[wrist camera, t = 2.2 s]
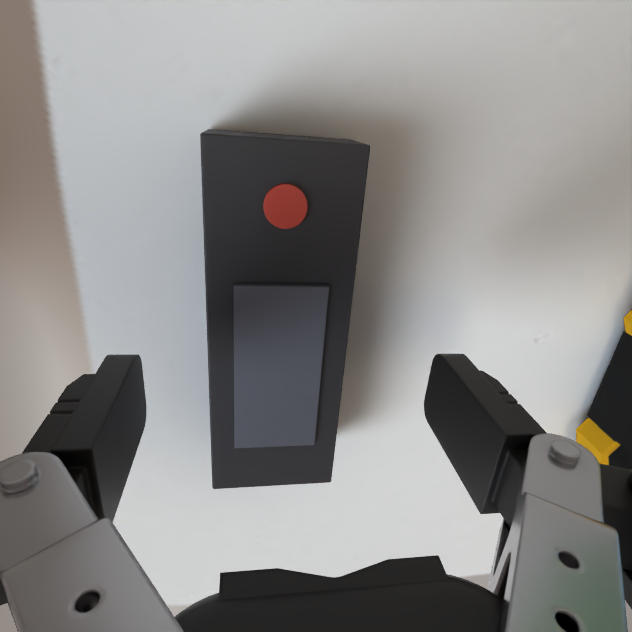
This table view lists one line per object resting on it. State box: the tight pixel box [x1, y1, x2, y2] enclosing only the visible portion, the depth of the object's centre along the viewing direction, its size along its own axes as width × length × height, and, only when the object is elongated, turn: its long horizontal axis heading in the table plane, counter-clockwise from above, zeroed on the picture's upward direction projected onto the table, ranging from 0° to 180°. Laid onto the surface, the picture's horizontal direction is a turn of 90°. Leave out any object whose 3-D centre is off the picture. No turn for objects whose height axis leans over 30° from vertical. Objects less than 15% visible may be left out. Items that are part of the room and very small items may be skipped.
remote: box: [200, 129, 370, 489], centre depth 15 cm, size 12×4×2 cm, turn 176°
